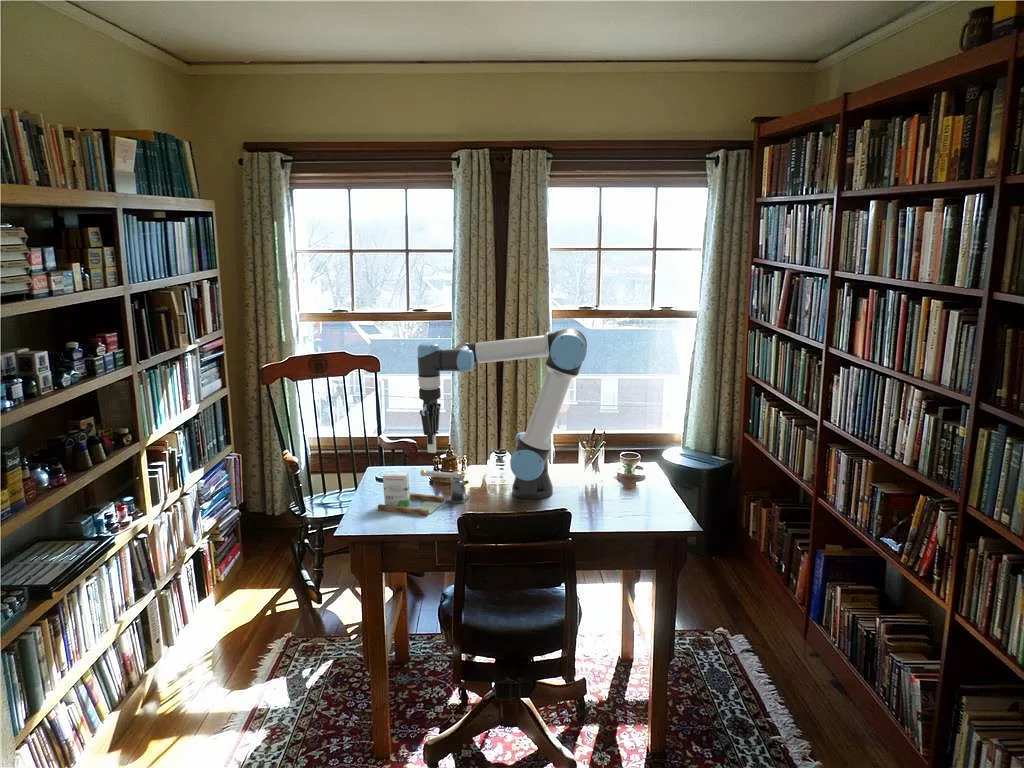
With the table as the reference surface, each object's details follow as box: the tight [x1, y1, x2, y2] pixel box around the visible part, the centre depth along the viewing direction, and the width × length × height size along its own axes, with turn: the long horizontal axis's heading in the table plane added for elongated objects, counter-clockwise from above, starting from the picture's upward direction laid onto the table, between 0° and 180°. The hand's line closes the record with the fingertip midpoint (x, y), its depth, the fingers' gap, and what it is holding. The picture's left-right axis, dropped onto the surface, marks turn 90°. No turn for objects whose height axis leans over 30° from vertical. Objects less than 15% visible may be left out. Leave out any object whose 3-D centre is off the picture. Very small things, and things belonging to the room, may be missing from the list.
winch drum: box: [445, 478, 472, 504], centre depth 280 cm, size 7×7×8 cm
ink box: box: [382, 471, 411, 507], centre depth 276 cm, size 9×5×12 cm, turn 85°
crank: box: [419, 469, 463, 480], centre depth 281 cm, size 16×4×2 cm, turn 71°
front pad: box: [416, 501, 444, 515], centre depth 273 cm, size 7×11×1 cm, turn 161°
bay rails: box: [377, 492, 445, 517], centre depth 275 cm, size 19×15×2 cm
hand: (432, 452), depth 274 cm, fingers closed
